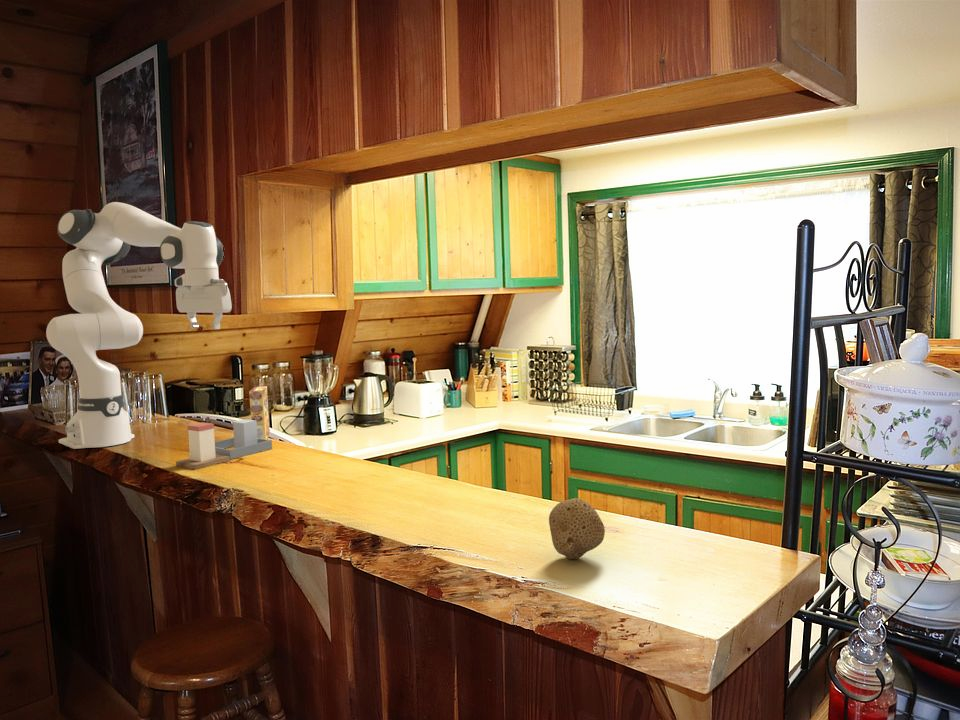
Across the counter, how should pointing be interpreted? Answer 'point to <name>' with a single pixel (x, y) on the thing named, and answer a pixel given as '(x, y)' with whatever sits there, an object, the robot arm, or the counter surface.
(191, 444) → the cream carton
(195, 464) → the walnut board
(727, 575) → the counter surface
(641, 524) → the counter surface
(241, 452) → the grey square frame
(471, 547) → the counter surface
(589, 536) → the natural sponge
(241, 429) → the tall white block
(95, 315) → the robot arm
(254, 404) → the candy box
